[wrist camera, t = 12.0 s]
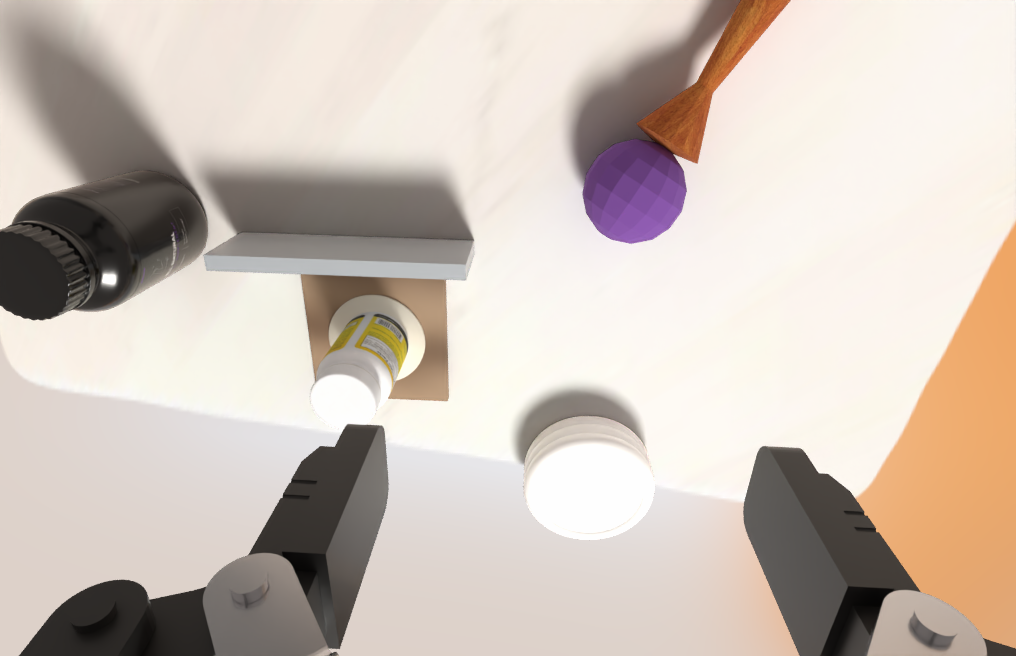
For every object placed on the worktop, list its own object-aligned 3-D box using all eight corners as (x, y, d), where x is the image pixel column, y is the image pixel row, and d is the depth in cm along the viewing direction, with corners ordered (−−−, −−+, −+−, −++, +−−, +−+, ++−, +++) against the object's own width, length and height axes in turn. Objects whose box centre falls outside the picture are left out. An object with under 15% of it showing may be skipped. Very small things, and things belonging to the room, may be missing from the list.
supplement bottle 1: (229, 254, 41) (116, 327, 30) (143, 274, 42) (4, 353, 31) (183, 155, 38) (41, 197, 27) (92, 180, 39) (-81, 229, 28)
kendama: (911, -71, 28) (660, 273, 34) (831, -55, 33) (626, 241, 39) (831, -159, 26) (578, 225, 32) (759, -126, 31) (554, 198, 37)
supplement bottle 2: (348, 367, 43) (307, 434, 36) (340, 309, 41) (295, 367, 34) (413, 369, 43) (385, 436, 35) (407, 310, 41) (377, 368, 33)
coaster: (534, 404, 45) (533, 431, 42) (661, 421, 45) (670, 449, 42) (516, 503, 49) (515, 534, 46) (633, 519, 49) (639, 551, 46)
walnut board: (303, 268, 41) (299, 272, 40) (445, 274, 41) (443, 278, 40) (320, 391, 45) (316, 396, 44) (448, 396, 45) (447, 402, 44)
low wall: (241, 232, 40) (203, 255, 35) (474, 240, 39) (465, 264, 35) (243, 246, 40) (206, 270, 36) (474, 254, 40) (465, 280, 35)
